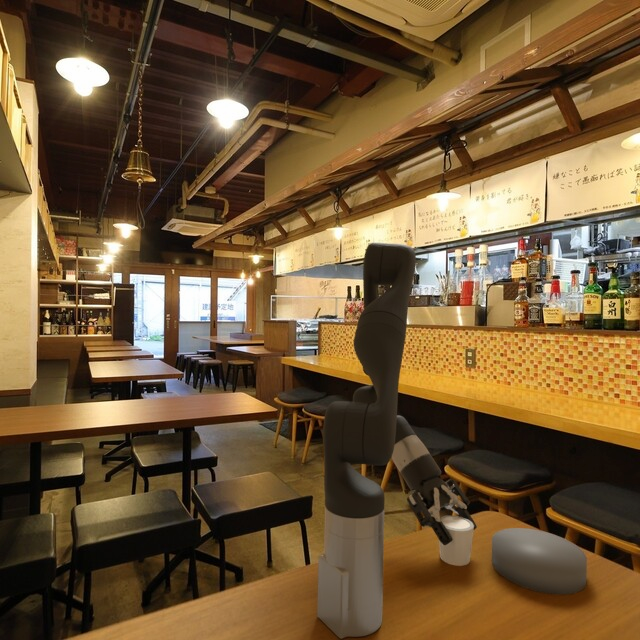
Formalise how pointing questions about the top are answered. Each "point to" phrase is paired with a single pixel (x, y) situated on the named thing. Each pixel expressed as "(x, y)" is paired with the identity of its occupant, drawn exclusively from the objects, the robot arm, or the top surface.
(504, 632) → the top surface
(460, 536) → the white cup
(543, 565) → the stand
